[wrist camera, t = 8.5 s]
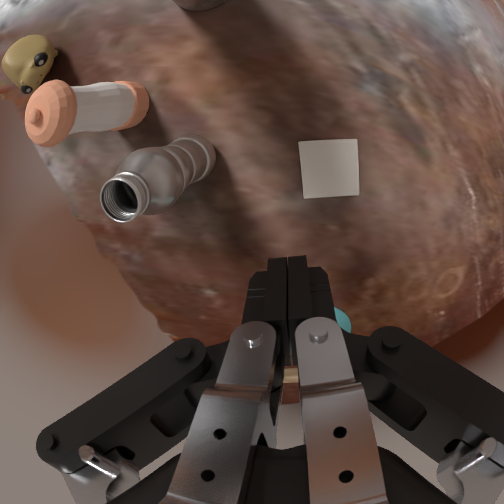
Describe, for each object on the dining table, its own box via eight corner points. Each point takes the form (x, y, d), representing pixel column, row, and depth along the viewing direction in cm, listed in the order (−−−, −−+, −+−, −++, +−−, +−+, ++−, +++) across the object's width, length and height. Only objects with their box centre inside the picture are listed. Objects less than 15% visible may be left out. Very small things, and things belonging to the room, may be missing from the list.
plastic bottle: (215, 181, 37) (157, 248, 20) (171, 173, 37) (87, 230, 20) (223, 136, 34) (162, 164, 17) (176, 129, 34) (85, 155, 17)
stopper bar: (277, 368, 55) (276, 377, 53) (350, 363, 53) (351, 372, 51) (278, 373, 56) (277, 382, 54) (349, 368, 54) (350, 377, 52)
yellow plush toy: (51, 100, 32) (7, 107, 22) (26, 73, 28) (-14, 77, 19) (78, 54, 28) (33, 50, 18) (50, 30, 24) (10, 26, 15)
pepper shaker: (125, 137, 35) (31, 169, 18) (101, 105, 32) (4, 121, 16) (158, 105, 32) (65, 112, 16) (132, 72, 30) (35, 64, 13)
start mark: (298, 141, 33) (298, 141, 33) (356, 138, 32) (357, 139, 32) (303, 198, 37) (303, 198, 37) (358, 194, 36) (359, 195, 36)
